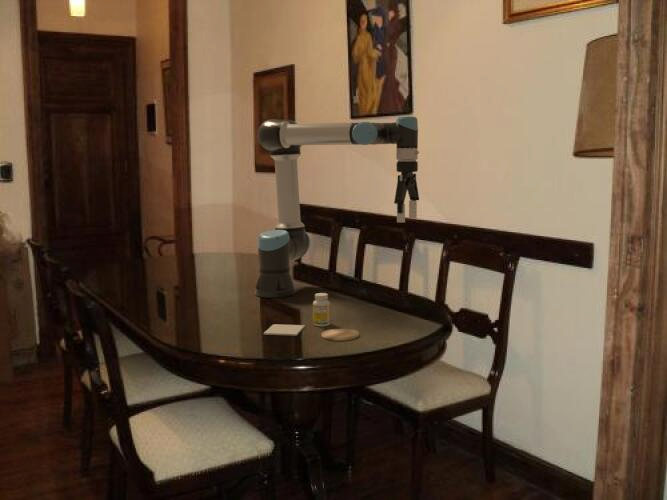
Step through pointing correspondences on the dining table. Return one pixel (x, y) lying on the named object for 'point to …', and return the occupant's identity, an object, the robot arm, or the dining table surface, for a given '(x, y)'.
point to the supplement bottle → (321, 310)
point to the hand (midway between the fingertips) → (407, 220)
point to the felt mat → (284, 330)
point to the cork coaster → (340, 334)
